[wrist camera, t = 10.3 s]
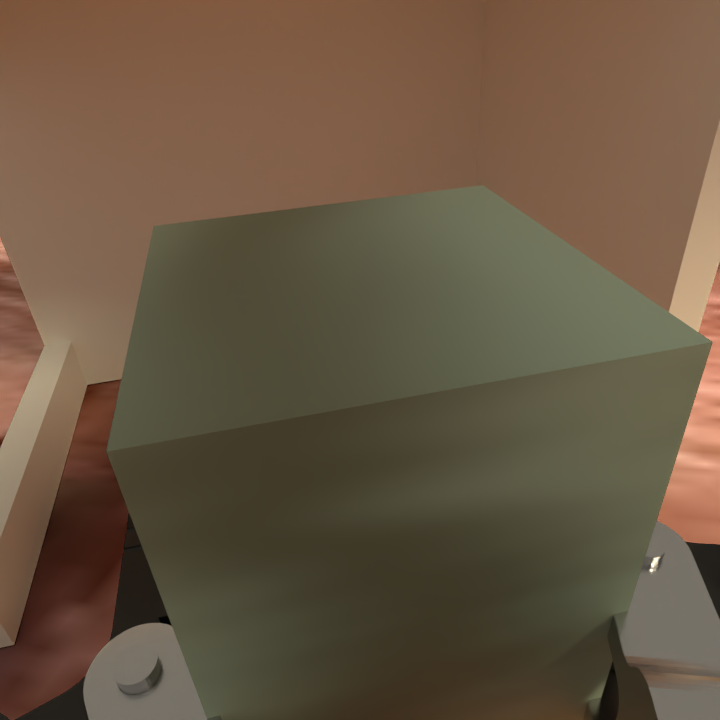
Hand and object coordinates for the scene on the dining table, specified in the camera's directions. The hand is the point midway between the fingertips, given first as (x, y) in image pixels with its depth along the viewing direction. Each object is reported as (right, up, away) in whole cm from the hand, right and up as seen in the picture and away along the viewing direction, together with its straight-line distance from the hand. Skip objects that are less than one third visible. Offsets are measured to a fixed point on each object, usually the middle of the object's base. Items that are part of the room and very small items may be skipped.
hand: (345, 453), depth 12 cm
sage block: (+1, -7, +2) cm, 7 cm away
